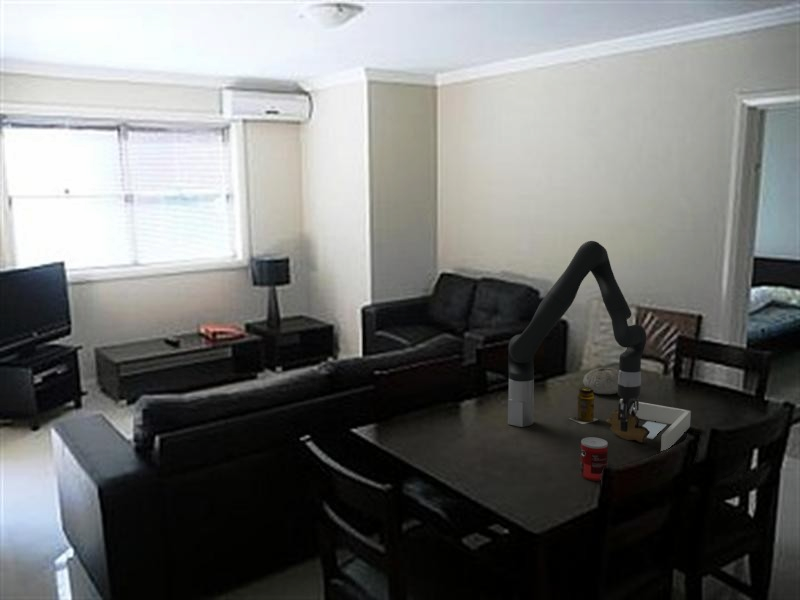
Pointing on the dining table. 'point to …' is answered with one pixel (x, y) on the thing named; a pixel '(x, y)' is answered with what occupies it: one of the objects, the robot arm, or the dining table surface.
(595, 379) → the decorative shell
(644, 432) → the wooden carving
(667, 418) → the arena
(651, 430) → the pad
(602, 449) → the canned food
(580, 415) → the condiment
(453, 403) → the dining table surface
